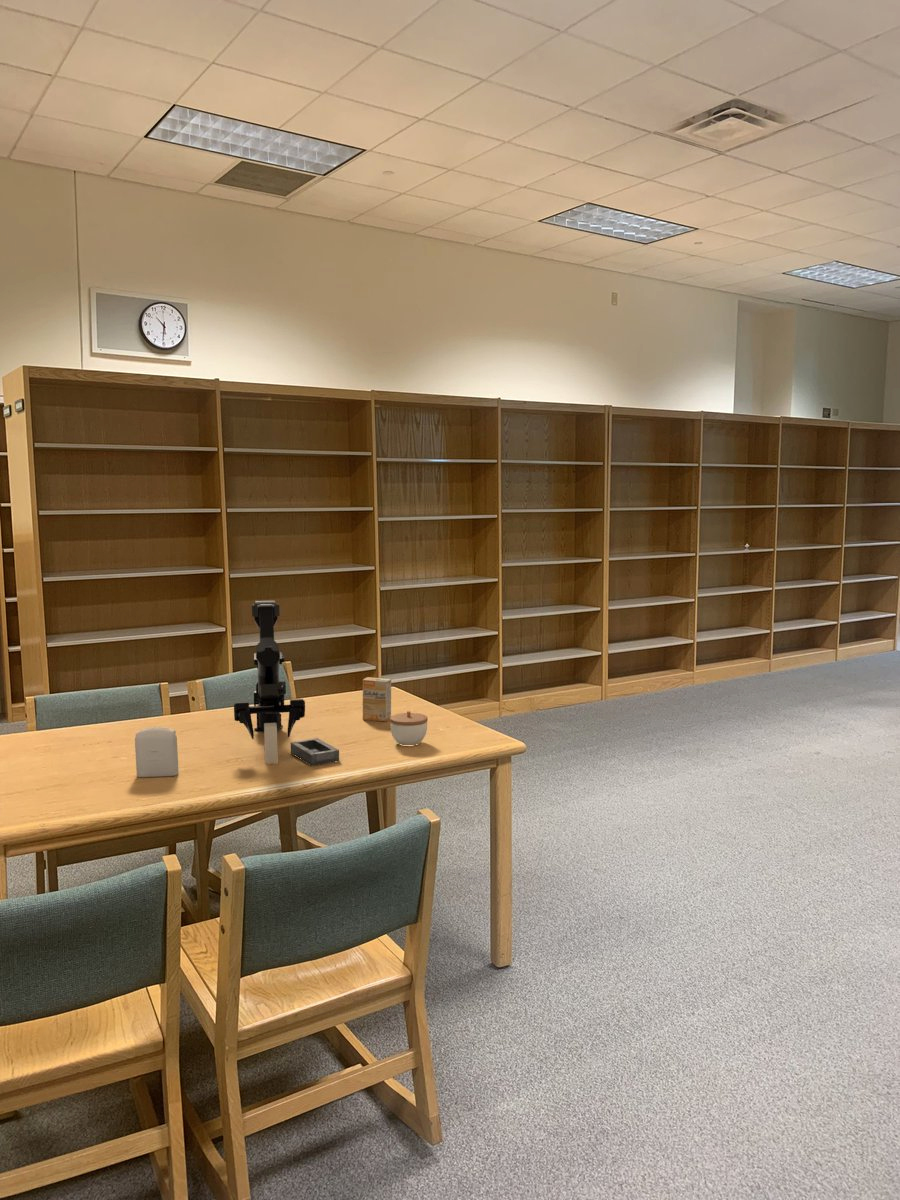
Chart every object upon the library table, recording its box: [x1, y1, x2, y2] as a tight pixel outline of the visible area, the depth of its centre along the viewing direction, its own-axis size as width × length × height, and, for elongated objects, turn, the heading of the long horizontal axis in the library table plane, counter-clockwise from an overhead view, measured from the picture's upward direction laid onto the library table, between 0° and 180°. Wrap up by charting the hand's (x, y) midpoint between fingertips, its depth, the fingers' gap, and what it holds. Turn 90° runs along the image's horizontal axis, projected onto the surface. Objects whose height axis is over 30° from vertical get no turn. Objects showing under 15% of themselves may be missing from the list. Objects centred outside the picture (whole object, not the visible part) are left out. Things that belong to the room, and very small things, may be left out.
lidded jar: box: [389, 711, 429, 745], centre depth 247 cm, size 11×11×9 cm
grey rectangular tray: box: [289, 737, 340, 767], centre depth 235 cm, size 14×8×3 cm, turn 33°
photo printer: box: [134, 726, 179, 778], centre depth 218 cm, size 10×4×12 cm, turn 96°
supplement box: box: [362, 676, 392, 722], centre depth 274 cm, size 8×5×13 cm, turn 73°
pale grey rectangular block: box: [263, 723, 279, 764], centre depth 230 cm, size 4×3×10 cm
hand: (270, 737), depth 229 cm, fingers open, 9 cm apart
